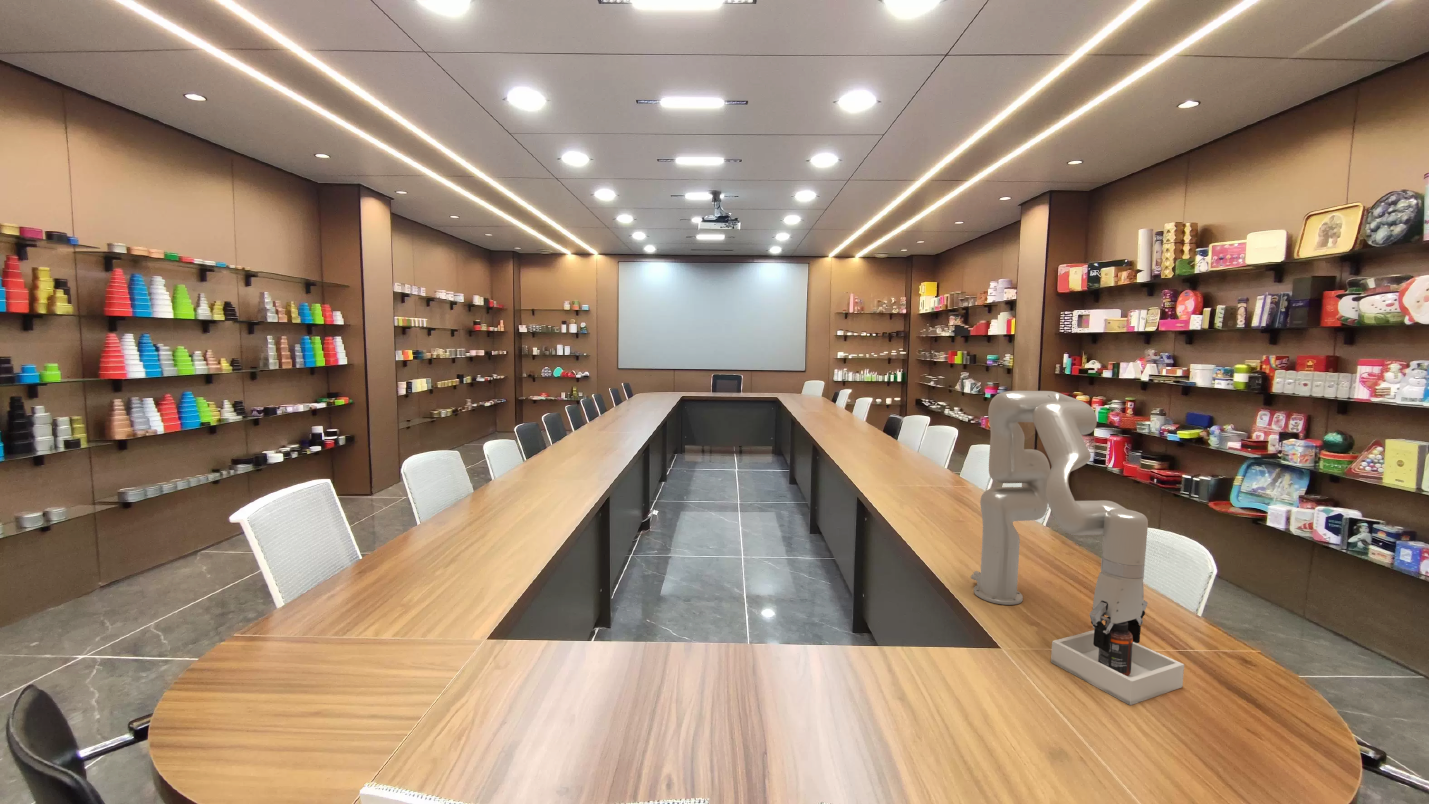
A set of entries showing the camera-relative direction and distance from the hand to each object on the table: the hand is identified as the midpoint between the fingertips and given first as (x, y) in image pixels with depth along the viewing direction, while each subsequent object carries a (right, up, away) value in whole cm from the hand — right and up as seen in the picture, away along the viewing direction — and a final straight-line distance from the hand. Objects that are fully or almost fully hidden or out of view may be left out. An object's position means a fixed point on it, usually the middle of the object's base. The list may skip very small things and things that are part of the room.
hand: (1116, 644), depth 124 cm
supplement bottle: (0, -6, +1) cm, 6 cm away
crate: (0, -7, +1) cm, 7 cm away
